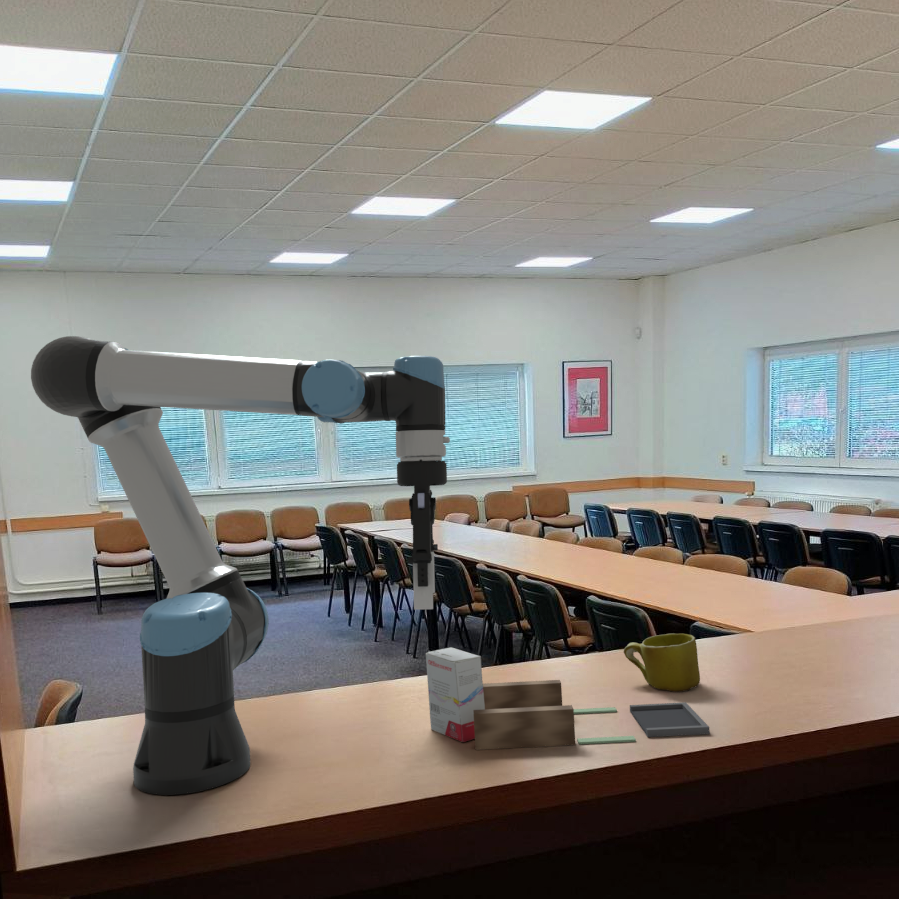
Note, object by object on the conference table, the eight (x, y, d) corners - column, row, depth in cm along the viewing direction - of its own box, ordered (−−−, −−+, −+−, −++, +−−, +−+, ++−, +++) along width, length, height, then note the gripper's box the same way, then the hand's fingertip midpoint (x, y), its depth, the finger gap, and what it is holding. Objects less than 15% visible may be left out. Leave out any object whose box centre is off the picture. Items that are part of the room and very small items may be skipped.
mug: (715, 668, 140) (696, 618, 139) (701, 702, 132) (680, 649, 131) (651, 674, 147) (632, 626, 146) (633, 706, 139) (613, 656, 138)
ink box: (488, 736, 118) (484, 655, 118) (459, 744, 115) (455, 661, 115) (455, 721, 125) (451, 645, 125) (428, 729, 122) (424, 651, 122)
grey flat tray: (647, 737, 114) (647, 729, 114) (629, 711, 125) (629, 705, 125) (709, 734, 114) (709, 726, 114) (686, 708, 125) (685, 702, 125)
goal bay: (578, 744, 112) (578, 742, 112) (564, 711, 127) (564, 709, 127) (635, 741, 112) (635, 739, 112) (615, 709, 127) (614, 707, 127)
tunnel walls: (475, 749, 112) (473, 713, 112) (473, 715, 127) (471, 684, 127) (575, 744, 112) (573, 709, 112) (561, 711, 127) (559, 679, 127)
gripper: (446, 458, 109) (450, 616, 108) (446, 458, 133) (450, 586, 133) (390, 460, 109) (394, 617, 108) (401, 460, 133) (404, 587, 133)
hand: (425, 600), depth 121 cm, fingers open, 13 cm apart
